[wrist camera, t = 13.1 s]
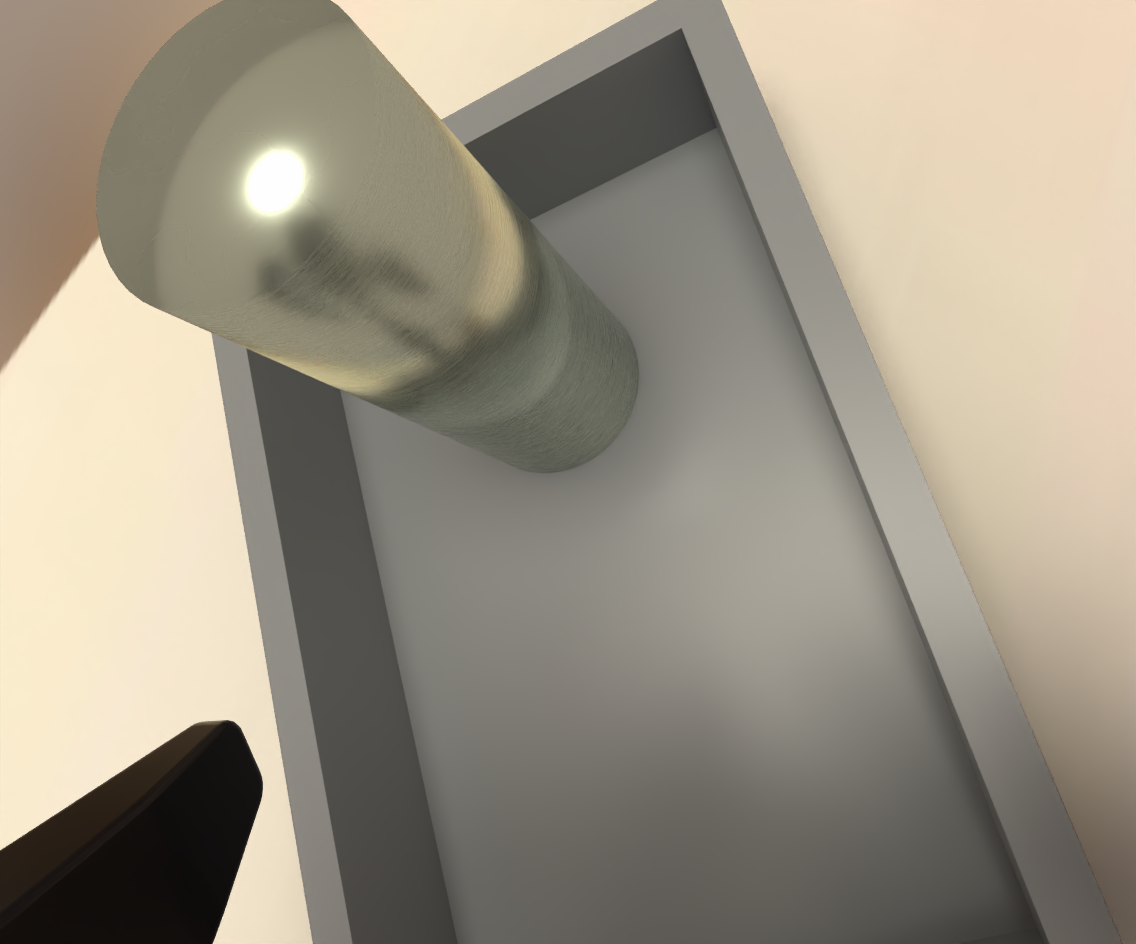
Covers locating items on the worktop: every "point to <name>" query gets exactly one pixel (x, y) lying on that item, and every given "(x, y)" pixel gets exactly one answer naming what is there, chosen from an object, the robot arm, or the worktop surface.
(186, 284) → the sage tin
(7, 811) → the worktop surface
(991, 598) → the worktop surface
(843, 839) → the tote
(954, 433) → the worktop surface
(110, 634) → the worktop surface
